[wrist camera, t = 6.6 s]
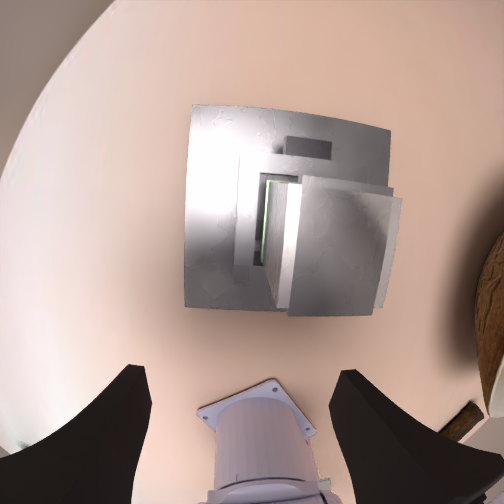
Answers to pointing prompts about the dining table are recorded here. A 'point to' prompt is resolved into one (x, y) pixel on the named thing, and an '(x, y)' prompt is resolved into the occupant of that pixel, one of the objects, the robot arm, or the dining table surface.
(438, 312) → the dining table surface
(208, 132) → the grey square plate
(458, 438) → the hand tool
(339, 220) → the silver metal block
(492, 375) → the bowl
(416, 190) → the dining table surface
